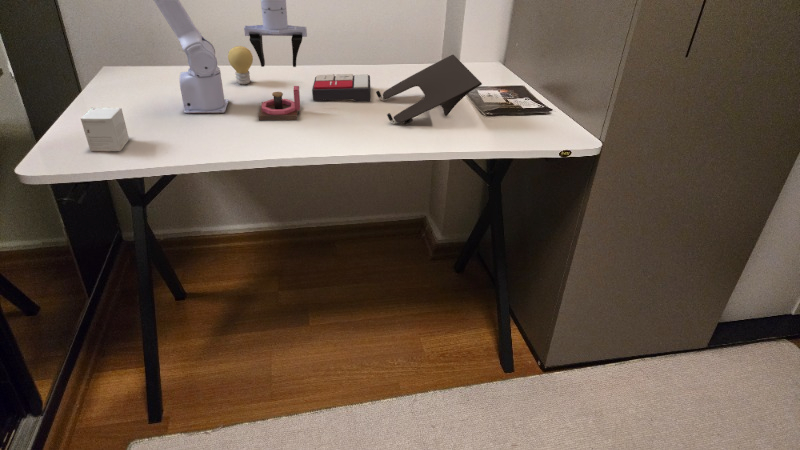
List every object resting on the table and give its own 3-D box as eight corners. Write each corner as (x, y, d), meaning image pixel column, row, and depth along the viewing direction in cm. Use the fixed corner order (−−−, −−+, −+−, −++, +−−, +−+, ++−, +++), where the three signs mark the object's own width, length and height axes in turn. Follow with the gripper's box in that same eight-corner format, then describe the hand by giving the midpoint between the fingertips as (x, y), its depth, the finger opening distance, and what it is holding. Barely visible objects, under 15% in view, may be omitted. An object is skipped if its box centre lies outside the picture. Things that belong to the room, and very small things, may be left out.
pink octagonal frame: (260, 114, 125) (258, 93, 122) (263, 102, 132) (261, 82, 129) (299, 114, 126) (298, 93, 123) (300, 102, 133) (299, 82, 130)
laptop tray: (387, 115, 146) (373, 87, 141) (462, 77, 144) (450, 46, 139) (405, 151, 128) (389, 120, 122) (490, 108, 126) (479, 74, 120)
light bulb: (260, 82, 147) (256, 46, 141) (243, 88, 142) (238, 51, 137) (244, 77, 150) (239, 42, 144) (226, 83, 145) (221, 46, 140)
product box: (89, 151, 108) (79, 118, 104) (100, 139, 113) (90, 106, 109) (120, 151, 109) (111, 118, 105) (130, 139, 114) (121, 107, 110)
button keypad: (315, 73, 144) (369, 72, 145) (316, 88, 146) (370, 87, 147) (311, 87, 135) (369, 85, 135) (313, 103, 137) (370, 101, 138)
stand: (258, 120, 125) (256, 100, 122) (262, 106, 133) (260, 87, 130) (297, 120, 126) (295, 100, 124) (298, 106, 134) (297, 87, 131)
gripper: (239, 10, 119) (246, 70, 126) (304, 12, 120) (308, 70, 128) (243, 4, 125) (250, 61, 132) (305, 5, 126) (308, 62, 134)
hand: (278, 65), depth 130 cm, fingers open, 7 cm apart
